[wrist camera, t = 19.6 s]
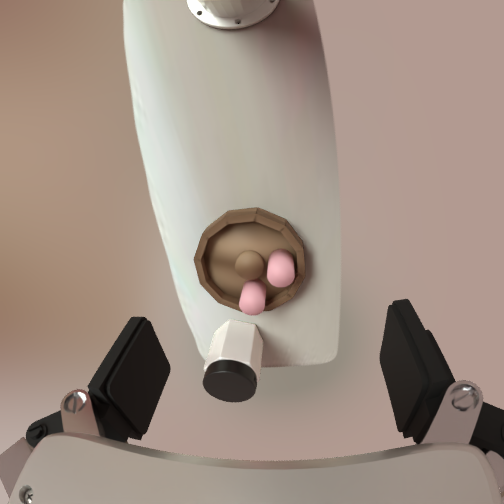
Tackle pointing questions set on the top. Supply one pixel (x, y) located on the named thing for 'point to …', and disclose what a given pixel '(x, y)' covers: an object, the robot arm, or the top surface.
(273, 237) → the tray
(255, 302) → the bead
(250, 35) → the top surface
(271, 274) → the bead
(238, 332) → the jar
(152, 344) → the robot arm
